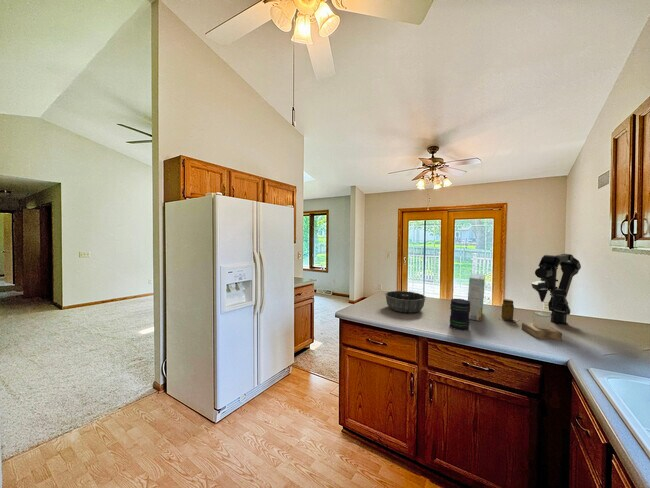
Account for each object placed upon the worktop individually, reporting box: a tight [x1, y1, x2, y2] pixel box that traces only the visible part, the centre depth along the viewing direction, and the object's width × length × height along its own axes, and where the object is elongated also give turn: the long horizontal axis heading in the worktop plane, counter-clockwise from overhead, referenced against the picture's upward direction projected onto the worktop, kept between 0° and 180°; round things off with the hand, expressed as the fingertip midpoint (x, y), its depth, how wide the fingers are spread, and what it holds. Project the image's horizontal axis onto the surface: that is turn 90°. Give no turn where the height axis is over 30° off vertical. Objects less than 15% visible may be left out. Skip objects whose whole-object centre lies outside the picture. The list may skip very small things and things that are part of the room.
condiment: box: [498, 298, 519, 323], centre depth 161 cm, size 7×8×12 cm
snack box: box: [467, 273, 486, 322], centre depth 167 cm, size 22×9×26 cm, turn 148°
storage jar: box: [449, 298, 471, 331], centre depth 147 cm, size 10×10×15 cm
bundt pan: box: [384, 290, 427, 314], centre depth 178 cm, size 26×26×10 cm
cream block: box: [532, 311, 552, 329], centre depth 139 cm, size 5×5×7 cm
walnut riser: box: [521, 322, 563, 341], centre depth 139 cm, size 12×12×4 cm
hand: (547, 303), depth 151 cm, fingers open, 9 cm apart
